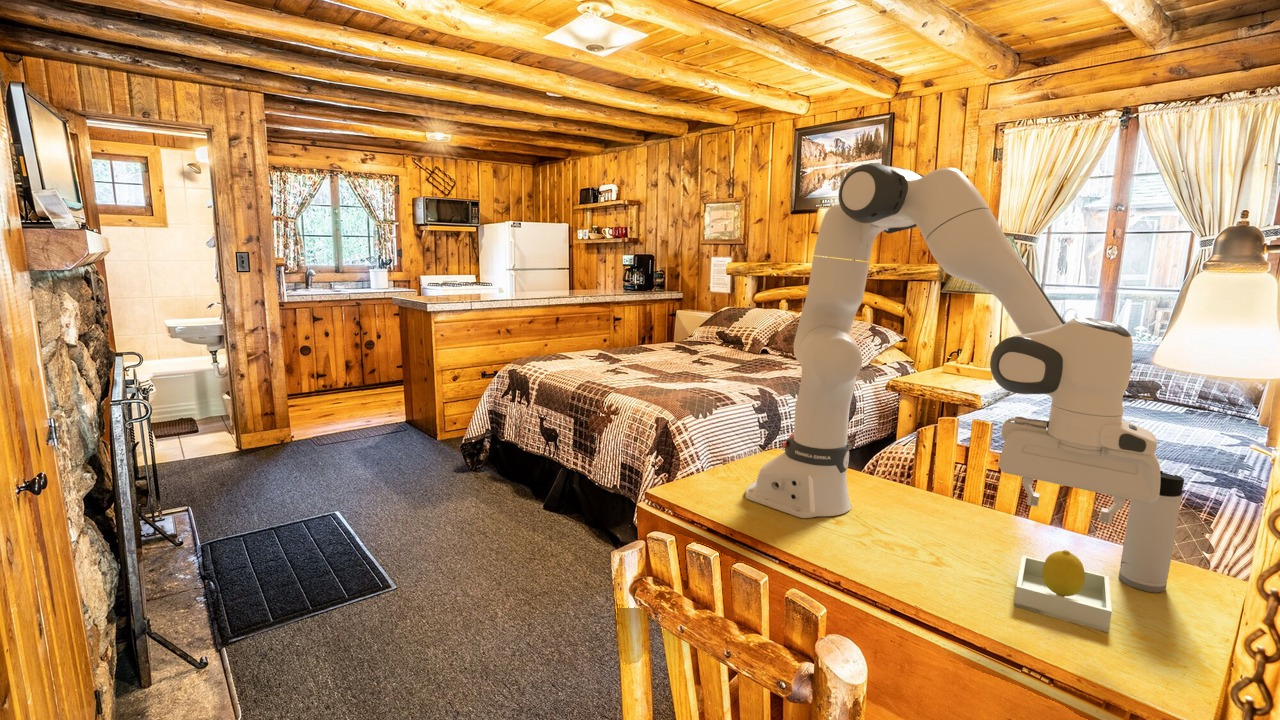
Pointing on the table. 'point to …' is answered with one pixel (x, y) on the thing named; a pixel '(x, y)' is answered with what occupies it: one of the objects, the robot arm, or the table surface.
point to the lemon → (1063, 573)
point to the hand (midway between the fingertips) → (1067, 512)
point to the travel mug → (1151, 537)
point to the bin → (1080, 608)
